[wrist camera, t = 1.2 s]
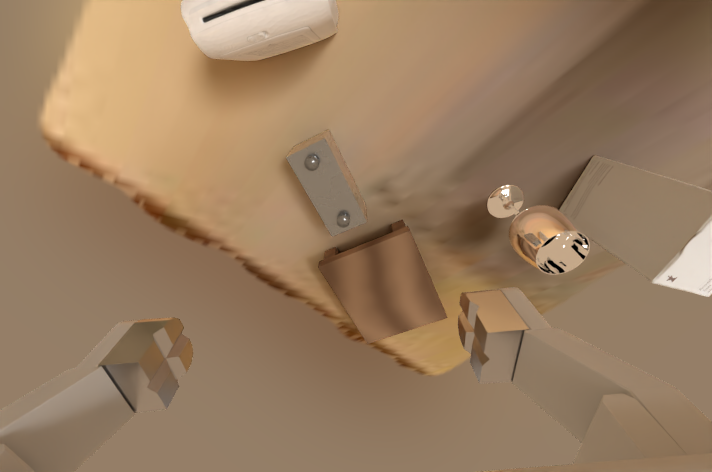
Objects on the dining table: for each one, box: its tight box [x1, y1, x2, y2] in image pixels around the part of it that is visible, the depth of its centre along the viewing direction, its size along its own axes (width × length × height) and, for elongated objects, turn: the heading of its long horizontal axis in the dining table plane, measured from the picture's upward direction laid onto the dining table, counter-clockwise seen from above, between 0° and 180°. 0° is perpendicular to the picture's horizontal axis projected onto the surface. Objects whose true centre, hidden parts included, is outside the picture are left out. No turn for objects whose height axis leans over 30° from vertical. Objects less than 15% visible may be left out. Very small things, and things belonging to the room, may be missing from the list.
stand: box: [318, 220, 447, 344], centre depth 42 cm, size 12×15×4 cm
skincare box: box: [560, 155, 712, 297], centre depth 31 cm, size 8×6×15 cm
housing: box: [286, 129, 367, 237], centre depth 34 cm, size 4×10×6 cm, turn 25°
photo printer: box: [181, 0, 339, 61], centre depth 24 cm, size 10×4×12 cm, turn 105°
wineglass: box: [487, 185, 590, 275], centre depth 33 cm, size 6×6×12 cm
